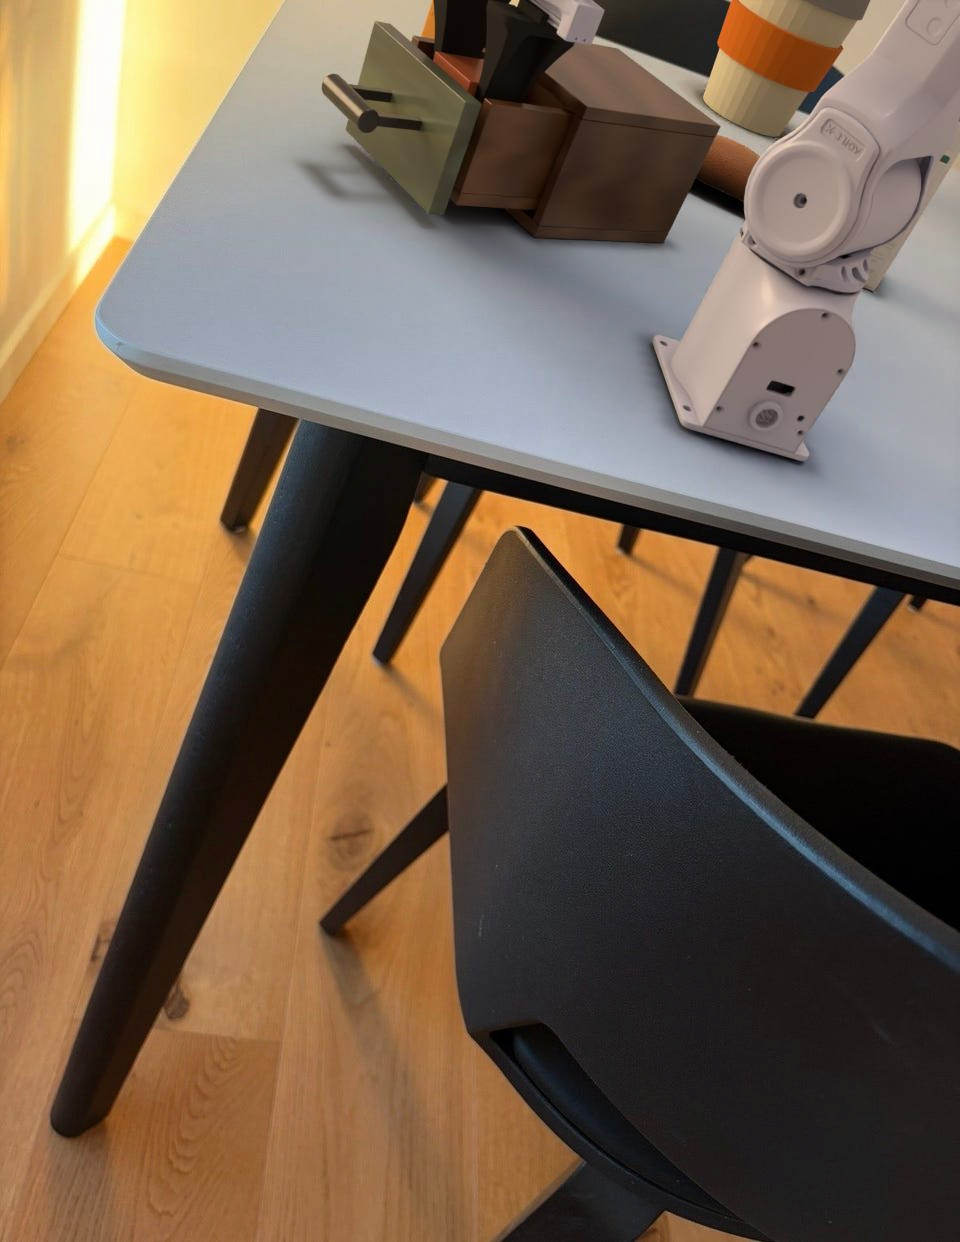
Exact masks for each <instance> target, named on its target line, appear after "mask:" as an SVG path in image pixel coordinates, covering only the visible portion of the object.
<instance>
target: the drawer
mask: <svg viewBox="0 0 960 1242" xmlns="http://www.w3.org/2000/svg"><path fill="white" fill-rule="evenodd" d="M434 40H435V39H431V38H426V37H421V35H420V36H419V35H415V34H414V35H412V37H411V40H410V39H409V38H407V37H406V36H405V35H404V34H403V33H402V32H401V31H399V30H398V29H397V28H396V27H395V26H394V25H392V24H391V23H389V22H384V21H378V20H374V22H373V26H372V29H371V34H370V37H369V41H368V44H367V48H366V52H365V55H364V60H363V63H362V67H361V71H360V75H359V79H358V81H357V84H353V83H348V82H347V81H346V80H344V78H343V77H342V76H340V75H339V74H337V73H330V74H328V75H327V76H325V77H324V79H323V80H322V83H321V92H322V94H323V95H324V96H325V98H326V99H328V100H329V101H330V103H332V104H333V105H334V106H335V108H336V109H337V110H338V111H340V112H341V114H342V115H344V116H345V117H346V119H348V120H347V123H346V128H345V132H347V134H349V135H350V137H352V139H354V140H355V141H356V142H357V143H358V144H359V146H360V147H362V149H363V150H365V151H366V152H367V153H368V155H370V157H372V159H374V161H376V163H378V164H379V166H380V167H381V168H383V170H384V171H385V172H386V173H387V174H389V176H390V177H391V178H392V179H393V180H395V182H396V183H397V184H398V185H399V186H400V187H401V188H402V189H403V190H404V191H405V192H406V193H407V194H408V195H409V196H410V197H411V198H412V199H413V201H415V202H416V203H417V204H418V205H419V206H420V207H421V208H422V209H423V210H424V212H426V213H427V214H428V215H441V216H442V215H445V213H446V210H447V207H448V204H449V201H450V200H451V201H452V202H453V203H454V204H455V205H456V206H463V207H464V206H466V207H478V208H479V207H480V208H481V207H482V208H495V209H497V208H498V209H504V208H511V209H526V210H537V208H538V205H539V203H540V200H541V198H542V195H543V193H544V190H545V188H546V185H547V183H548V180H549V178H550V175H551V173H552V170H553V168H554V165H555V163H556V160H557V158H558V155H559V153H560V150H561V148H562V145H563V143H564V140H565V138H566V135H567V133H568V130H569V128H570V125H571V123H572V120H573V118H574V115H575V113H574V112H573V111H571V110H570V109H569V108H568V107H567V106H565V105H564V104H563V103H562V102H561V101H559V100H558V99H557V98H556V97H555V96H553V95H552V94H551V93H550V92H549V91H547V90H546V89H545V88H544V87H542V86H541V85H540V84H539V83H538V82H535V83H534V85H533V86H532V87H531V88H530V90H529V91H528V92H527V94H526V95H525V96H524V98H523V99H522V101H521V102H520V103H516V102H509V101H502V100H495V99H488V98H485V99H484V102H483V105H482V104H481V103H480V102H479V101H478V100H477V99H475V98H474V97H473V96H472V95H471V94H470V93H469V92H467V91H466V90H465V89H464V88H463V87H462V86H461V85H460V84H458V83H457V82H456V81H455V80H454V79H453V78H452V77H450V76H449V75H448V74H447V73H446V72H445V71H444V70H442V69H441V68H440V67H439V66H438V65H437V64H436V63H435V62H433V57H434ZM484 56H485V48H484V49H483V51H482V54H481V56H480V59H484ZM481 105H482V108H481ZM480 108H481V111H480ZM479 111H480V114H479ZM478 114H479V116H478ZM477 117H478V119H477ZM476 120H477V122H476ZM475 123H476V125H475ZM474 126H475V128H474ZM473 128H474V131H473ZM472 131H473V134H472ZM471 134H472V137H471ZM470 137H471V140H470ZM469 140H470V143H469ZM468 143H469V145H468ZM467 146H468V148H467Z"/></svg>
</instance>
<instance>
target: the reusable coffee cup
mask: <svg viewBox="0 0 960 1242" xmlns="http://www.w3.org/2000/svg"><path fill="white" fill-rule="evenodd" d="M870 3H871V0H730V3H729V6H728V9H727V12H726V16H725V18H724V21H723V24H722V26H721V27H722V28H721V30H720V33H719V36H718V39H717V42H716V43H717V46H718V52H717V55H716V57H715V61H714V64H713V66H712V70H711V72H710V75H709V78H708V81H707V83H706V86H705V89H704V93H703V96H702V100H703V101H704V103H705V104H706V105H707V106H708V108H710V109H711V110H713V111H714V112H715V113H717V114H718V115H720V116H721V117H723V118H724V119H726V120H727V121H729V122H731V123H733V124H735V125H737V126H739V127H741V128H743V129H746V130H749V131H751V132H753V133H756V134H759V135H761V136H762V135H764V136H766V137H773V138H774V137H775V138H776V137H779V136H781V135H782V133H783V131H784V130H785V129H786V127H787V125H788V124H789V123H790V121H791V120H792V118H793V117H794V115H795V114H796V112H797V111H798V110H799V108H800V107H801V105H802V103H803V102H804V101H805V99H806V98H807V96H808V95H809V93H813V92H816V90H817V88H818V87H819V86H820V84H821V83H822V81H823V80H824V79H825V77H826V75H827V74H828V73H829V71H830V69H831V68H832V66H833V65H834V64H835V62H836V61H837V59H838V58H839V57H840V55H841V53H842V52H843V51H844V46H843V45H842V44H843V43H844V41H845V40H846V38H847V37H848V35H849V34H850V32H851V31H852V30H853V28H854V26H855V25H856V24H857V22H858V21H863V19H864V17H865V15H866V12H867V10H868V7H869V5H870Z"/></svg>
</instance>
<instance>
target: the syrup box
mask: <svg viewBox="0 0 960 1242" xmlns="http://www.w3.org/2000/svg"><path fill="white" fill-rule="evenodd" d="M959 155H960V118H959V122H958V126H957V130H956V134H955V138H954V140H953V143H952V145H951V146H950V147H949V148H948V150H947V151H946V152H945V154H944V155H943V156H942V158H941V159H940V161H939V162H938V164H937V165H936V167H935V169H934V171H933V173H932V175H931V178H930V181H929V185H928V190H927V194H926V198H925V202H924V204H923V207H922V210H921V212H920V213H919V215H918V217H917V219H916V220H915V222H914V223H913V224H912V225H911V227H910V228H909V229H908V230H907V231H906V232H905V233H904V234H903V235H902V236H900V237H899V238H897V239H896V240H894V241H893V242H891V243H889V244H886V245H884V246H881V247H878V248H874V249H873V252H872V253H871V257H872V258H871V264H870V271H869V273H868V276H869V278H868V280H867V281H866V283H865V285H864V286H863V289H867V290H869V291H871V292H874V291H875V290H876V289H877V288H878V286H879V284H880V283H881V281H882V279H883V278H884V276H885V275H886V273H887V272H888V270H889V268H890V267H891V266H892V264H893V262H894V260H895V259H896V257H898V254H900V253H899V252H900V251H901V250H902V248H903V247H904V245H905V243H906V241H907V240H908V238H909V236H910V235H911V234H912V232H913V230H914V228H915V227H916V226H917V223H918V222H919V220H921V217H922V215H923V214H924V212H925V210H926V209H927V207H928V205H930V202H931V201H932V200H933V197H934V196H935V194H936V193H937V191H938V190H939V187H940V186H941V184H942V183H943V181H944V179H945V178H946V176H947V174H948V173H949V172H950V169H951V168H952V166H953V165H954V163H955V161H956V160H957V158H958V157H959Z"/></svg>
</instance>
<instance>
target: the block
mask: <svg viewBox="0 0 960 1242" xmlns="http://www.w3.org/2000/svg"><path fill="white" fill-rule="evenodd" d="M433 62H435V63H436V64H437V65H438V66H439V67H440V68H441V69H442V70H444V71H445V72H446V73H447V74H448V75H449V76H450V77H452V78H453V79H454V80H455V81H456V82H457V83H458V84H460V85H461V86H462V87H463V88H464V89H465V90H466V91H467V92H469V93H470V94H471V95H472V96H473V97H474V98H475V94H476V91H477V87H478V84H479V80H480V77H481V72H482V68H483V62H484V59H478V58H472V57H466V56H460V55H454V54H448V53H442V52H435V55H434V59H433ZM473 131H474V129H473ZM473 131H472V134H473ZM472 134H471V137H472ZM471 137H470V140H471ZM470 140H469V143H470ZM469 143H468V145H469ZM467 148H468V146H467Z"/></svg>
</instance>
